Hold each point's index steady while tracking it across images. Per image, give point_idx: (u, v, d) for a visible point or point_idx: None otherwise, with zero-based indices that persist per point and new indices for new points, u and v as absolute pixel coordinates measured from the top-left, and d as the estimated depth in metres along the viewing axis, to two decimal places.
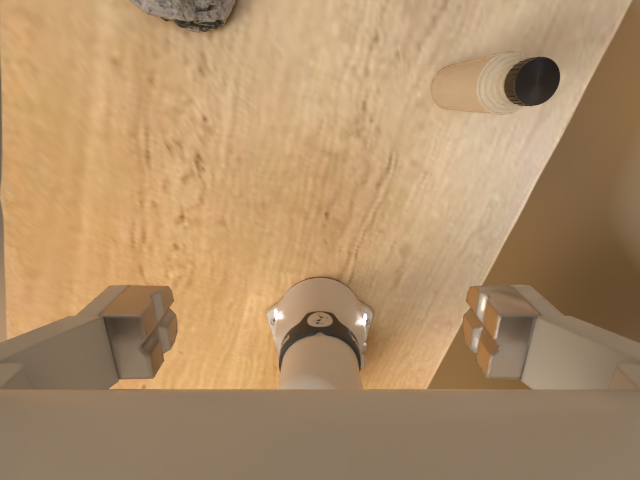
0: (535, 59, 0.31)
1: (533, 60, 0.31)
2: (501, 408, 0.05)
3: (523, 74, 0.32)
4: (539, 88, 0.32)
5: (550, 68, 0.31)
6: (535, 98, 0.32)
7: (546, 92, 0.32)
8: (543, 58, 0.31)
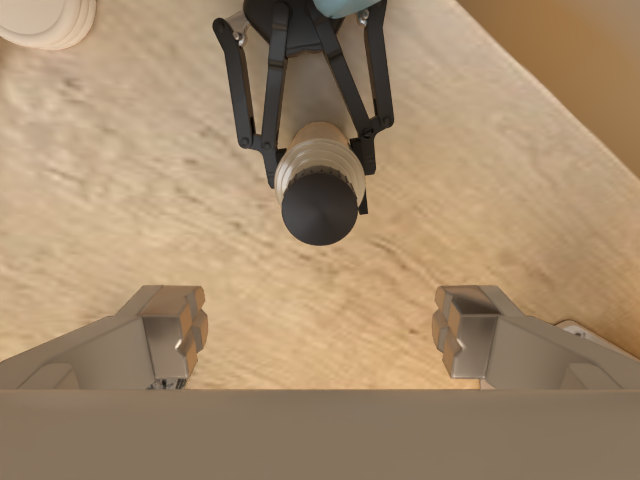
0: (283, 209, 0.19)
1: (284, 212, 0.19)
2: (501, 408, 0.05)
3: (300, 230, 0.19)
4: (332, 208, 0.19)
5: (305, 187, 0.18)
6: (345, 216, 0.19)
7: (342, 198, 0.18)
8: (286, 196, 0.18)
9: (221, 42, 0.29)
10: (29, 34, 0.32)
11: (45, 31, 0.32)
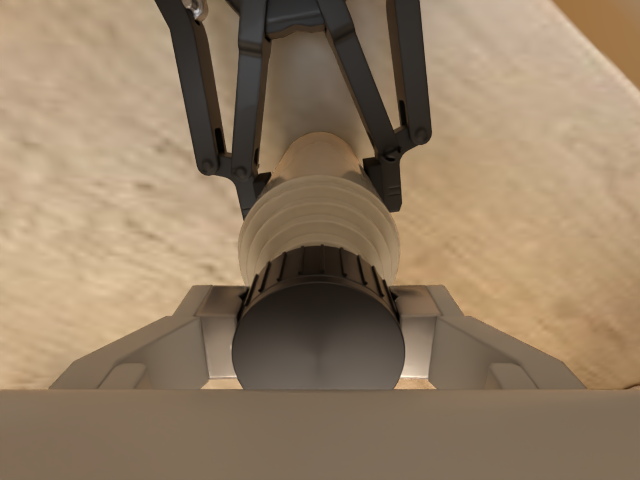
0: (235, 357, 0.08)
1: (237, 361, 0.08)
2: (501, 408, 0.05)
3: None
4: (347, 353, 0.08)
5: (285, 312, 0.08)
6: (377, 371, 0.08)
7: (371, 333, 0.08)
8: (240, 331, 0.08)
9: (164, 13, 0.18)
10: None
11: None
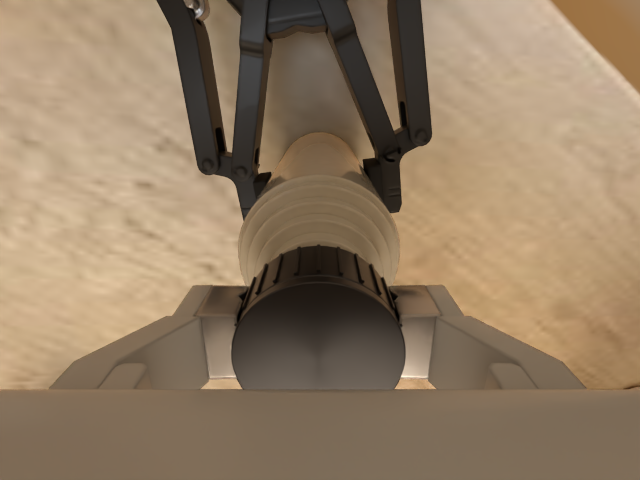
0: None
1: None
2: (501, 408, 0.05)
3: None
4: (319, 335, 0.08)
5: (258, 372, 0.08)
6: (349, 313, 0.08)
7: (302, 309, 0.08)
8: None
9: (166, 12, 0.18)
10: None
11: None
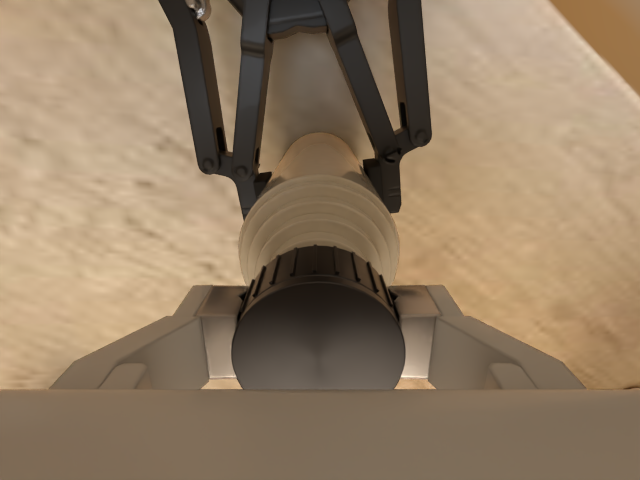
0: None
1: None
2: (501, 408, 0.05)
3: (381, 345, 0.08)
4: (289, 352, 0.08)
5: None
6: (272, 323, 0.08)
7: (258, 358, 0.08)
8: None
9: (167, 12, 0.18)
10: None
11: None
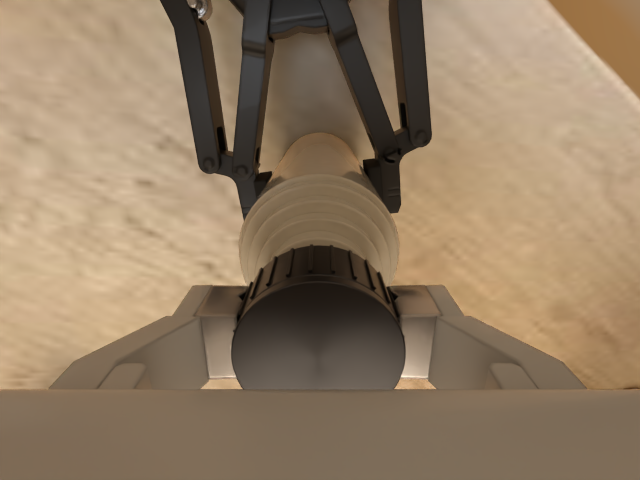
0: (383, 311, 0.08)
1: (378, 308, 0.08)
2: (502, 409, 0.05)
3: (317, 302, 0.08)
4: (302, 379, 0.08)
5: (377, 373, 0.08)
6: (266, 384, 0.08)
7: None
8: (398, 335, 0.08)
9: (169, 11, 0.18)
10: None
11: None
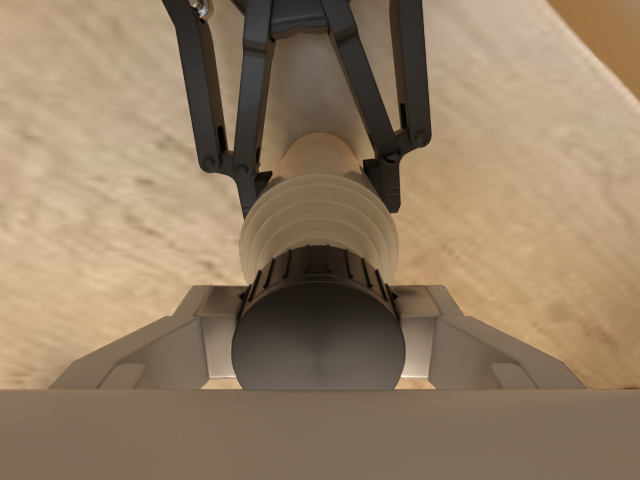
0: (278, 293, 0.08)
1: (273, 297, 0.08)
2: (501, 408, 0.05)
3: (254, 345, 0.08)
4: (337, 376, 0.08)
5: (353, 313, 0.08)
6: None
7: (367, 383, 0.08)
8: (311, 285, 0.07)
9: (170, 11, 0.18)
10: None
11: None
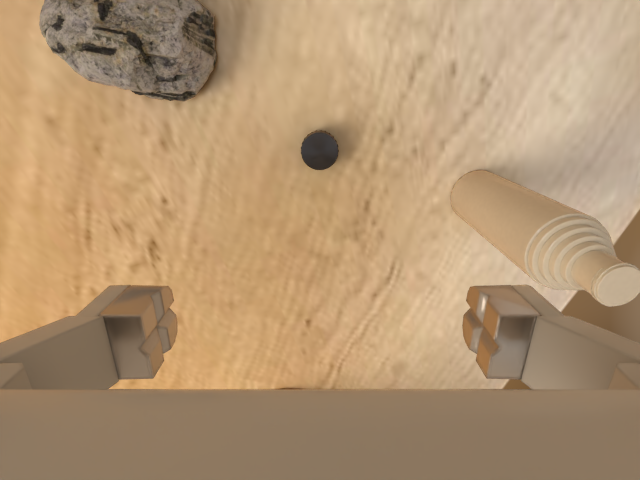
0: (302, 154, 0.39)
1: (303, 156, 0.39)
2: (501, 408, 0.05)
3: (312, 163, 0.39)
4: (325, 148, 0.38)
5: (310, 141, 0.38)
6: (332, 151, 0.38)
7: (328, 142, 0.38)
8: (302, 148, 0.38)
9: None
10: None
11: None
